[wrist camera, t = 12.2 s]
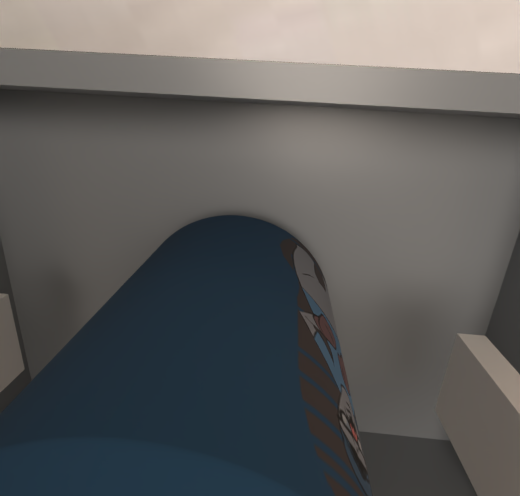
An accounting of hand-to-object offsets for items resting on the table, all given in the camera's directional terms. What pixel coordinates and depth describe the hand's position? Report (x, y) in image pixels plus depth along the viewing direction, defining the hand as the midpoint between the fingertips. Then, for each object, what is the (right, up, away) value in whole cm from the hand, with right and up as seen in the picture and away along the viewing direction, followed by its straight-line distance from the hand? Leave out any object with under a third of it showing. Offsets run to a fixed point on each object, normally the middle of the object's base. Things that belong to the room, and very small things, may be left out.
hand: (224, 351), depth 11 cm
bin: (0, +2, +5) cm, 5 cm away
